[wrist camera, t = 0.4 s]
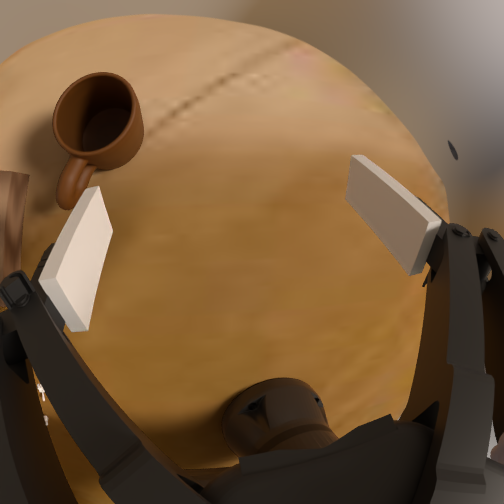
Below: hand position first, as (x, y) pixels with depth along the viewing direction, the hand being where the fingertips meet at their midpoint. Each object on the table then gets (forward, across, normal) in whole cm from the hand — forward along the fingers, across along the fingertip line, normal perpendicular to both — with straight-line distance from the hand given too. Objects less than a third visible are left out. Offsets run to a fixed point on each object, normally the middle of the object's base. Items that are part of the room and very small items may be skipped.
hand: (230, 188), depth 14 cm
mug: (+17, +12, +2) cm, 21 cm away
